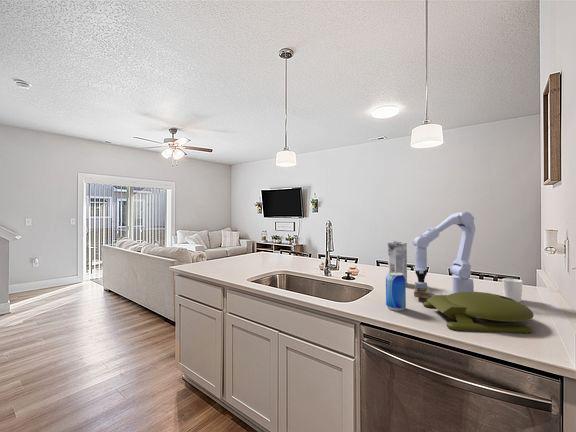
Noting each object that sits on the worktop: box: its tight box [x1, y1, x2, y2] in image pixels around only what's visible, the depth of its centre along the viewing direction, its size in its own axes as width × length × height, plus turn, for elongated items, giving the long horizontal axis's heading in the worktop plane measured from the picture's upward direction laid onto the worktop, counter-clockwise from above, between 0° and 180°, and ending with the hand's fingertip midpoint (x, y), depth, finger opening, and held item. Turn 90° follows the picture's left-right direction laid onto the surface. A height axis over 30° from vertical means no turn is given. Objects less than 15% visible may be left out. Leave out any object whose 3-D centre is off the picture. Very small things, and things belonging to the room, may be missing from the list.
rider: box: [415, 281, 428, 291], centre depth 146 cm, size 5×4×4 cm
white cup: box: [501, 277, 523, 303], centre depth 139 cm, size 8×8×10 cm
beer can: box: [385, 272, 407, 312], centre depth 128 cm, size 8×8×16 cm
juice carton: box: [387, 240, 408, 284], centre depth 174 cm, size 9×10×27 cm
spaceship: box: [422, 291, 535, 334], centre depth 115 cm, size 35×31×10 cm
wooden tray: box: [413, 281, 430, 299], centre depth 147 cm, size 7×21×5 cm, turn 155°
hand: (421, 284), depth 149 cm, fingers closed
